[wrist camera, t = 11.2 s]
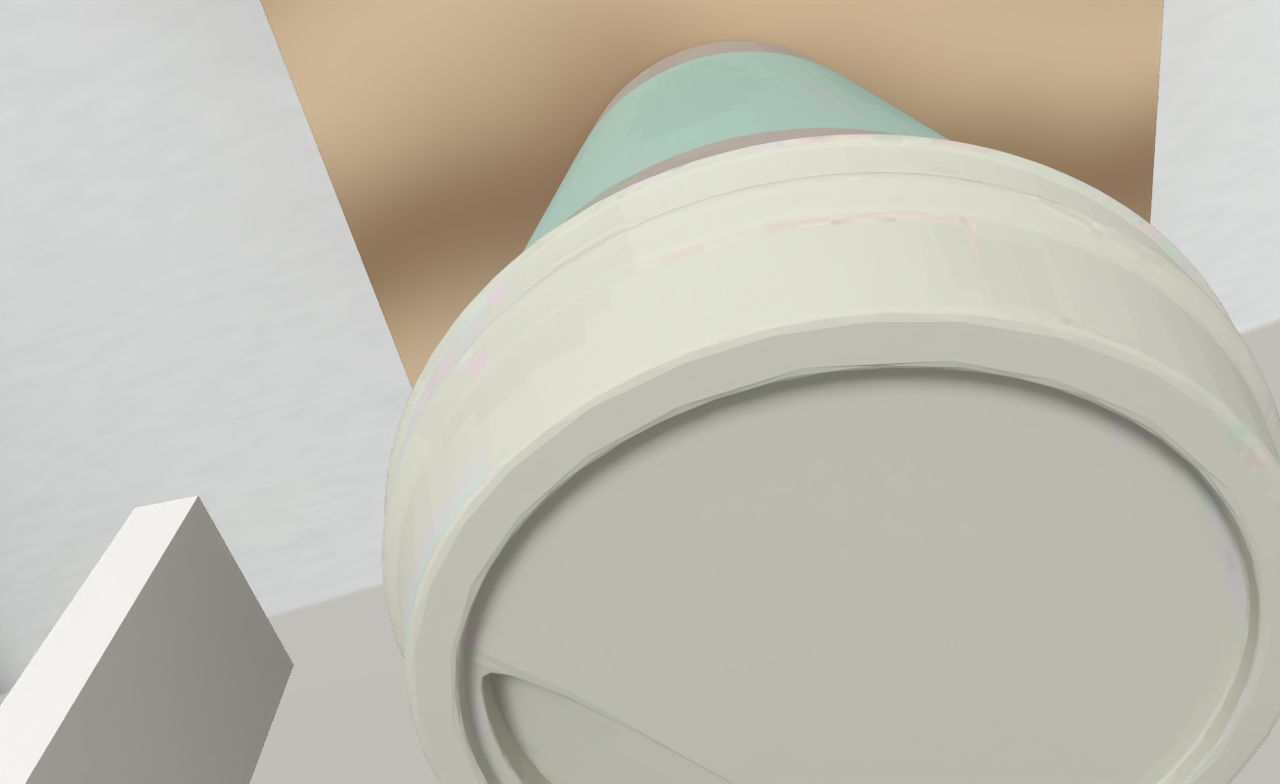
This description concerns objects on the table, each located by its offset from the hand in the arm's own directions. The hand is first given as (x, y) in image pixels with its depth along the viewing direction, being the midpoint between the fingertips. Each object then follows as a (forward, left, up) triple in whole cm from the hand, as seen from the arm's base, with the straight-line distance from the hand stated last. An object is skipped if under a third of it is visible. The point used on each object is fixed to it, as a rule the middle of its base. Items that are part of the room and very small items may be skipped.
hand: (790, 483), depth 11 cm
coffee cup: (0, 0, -9) cm, 9 cm away
